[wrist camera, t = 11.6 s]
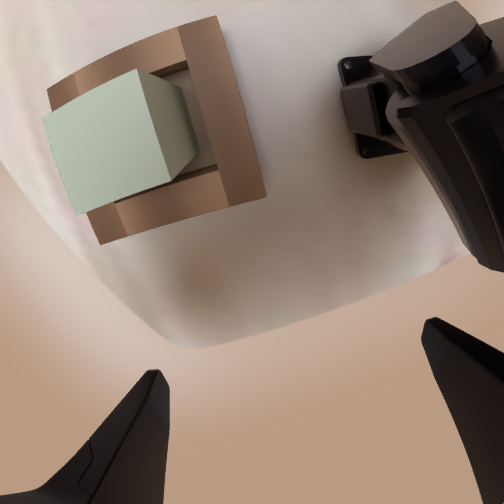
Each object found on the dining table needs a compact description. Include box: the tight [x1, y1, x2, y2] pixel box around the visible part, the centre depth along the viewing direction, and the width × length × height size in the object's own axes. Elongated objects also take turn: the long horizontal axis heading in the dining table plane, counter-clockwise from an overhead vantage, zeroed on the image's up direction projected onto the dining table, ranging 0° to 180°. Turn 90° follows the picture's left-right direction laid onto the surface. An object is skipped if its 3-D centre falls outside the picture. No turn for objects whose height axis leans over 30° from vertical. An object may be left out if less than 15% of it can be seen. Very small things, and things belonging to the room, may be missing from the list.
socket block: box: [47, 15, 267, 245], centre depth 15 cm, size 10×10×3 cm
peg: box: [42, 69, 200, 216], centre depth 12 cm, size 4×4×8 cm
